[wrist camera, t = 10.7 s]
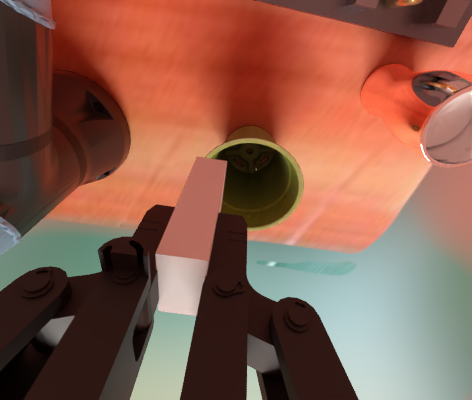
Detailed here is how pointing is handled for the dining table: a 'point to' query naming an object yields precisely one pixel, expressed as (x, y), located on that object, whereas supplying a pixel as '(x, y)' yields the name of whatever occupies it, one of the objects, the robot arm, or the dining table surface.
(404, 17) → the steam engine
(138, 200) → the dining table surface
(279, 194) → the plant pot
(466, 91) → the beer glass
